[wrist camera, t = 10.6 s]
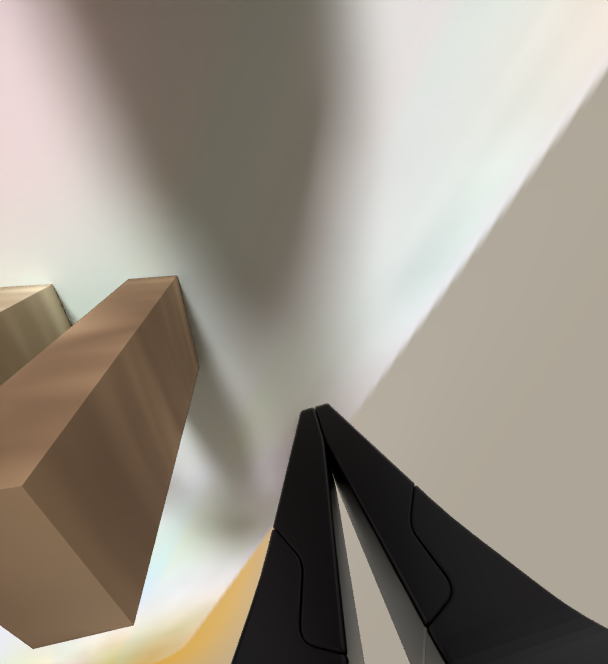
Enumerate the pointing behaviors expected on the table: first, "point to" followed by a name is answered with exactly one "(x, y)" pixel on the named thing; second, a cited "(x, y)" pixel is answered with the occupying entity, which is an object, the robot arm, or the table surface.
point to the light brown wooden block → (28, 325)
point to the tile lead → (91, 463)
